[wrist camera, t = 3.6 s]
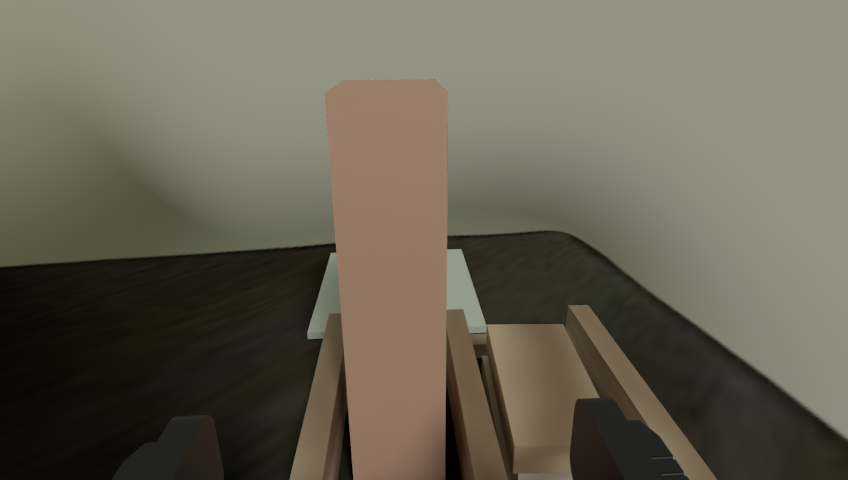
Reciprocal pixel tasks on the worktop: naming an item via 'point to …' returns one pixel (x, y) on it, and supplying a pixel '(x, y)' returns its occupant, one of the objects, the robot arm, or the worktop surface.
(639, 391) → the birch rack
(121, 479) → the robot arm
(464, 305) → the sage mat
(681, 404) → the worktop surface
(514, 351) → the plywood offcut stack
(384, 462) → the peach upright pillar
